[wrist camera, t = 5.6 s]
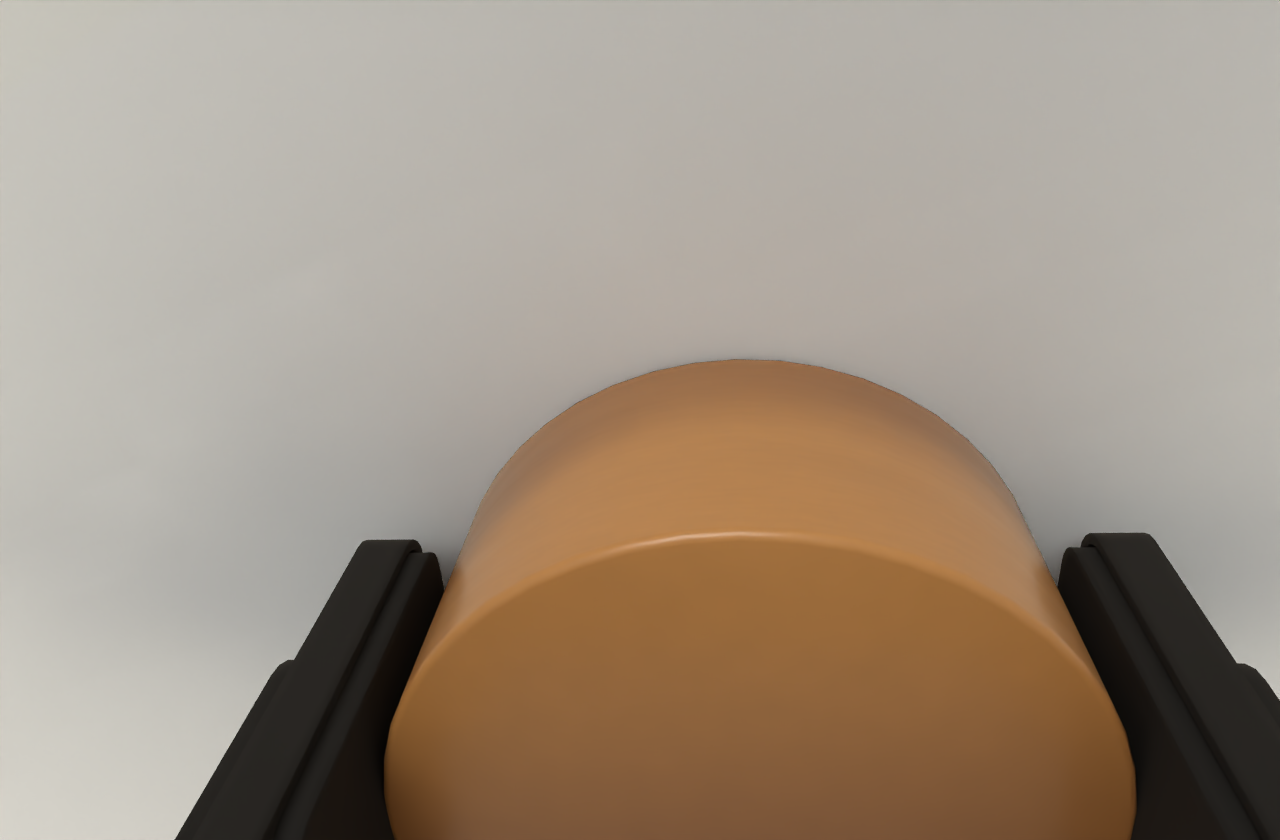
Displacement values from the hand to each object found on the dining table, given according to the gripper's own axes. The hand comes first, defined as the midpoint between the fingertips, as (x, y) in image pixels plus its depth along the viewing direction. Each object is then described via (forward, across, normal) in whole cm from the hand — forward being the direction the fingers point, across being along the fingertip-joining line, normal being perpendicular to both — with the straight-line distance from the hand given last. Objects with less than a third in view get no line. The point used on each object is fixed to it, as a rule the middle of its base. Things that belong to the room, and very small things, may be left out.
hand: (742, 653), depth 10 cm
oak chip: (+1, 0, 0) cm, 1 cm away
